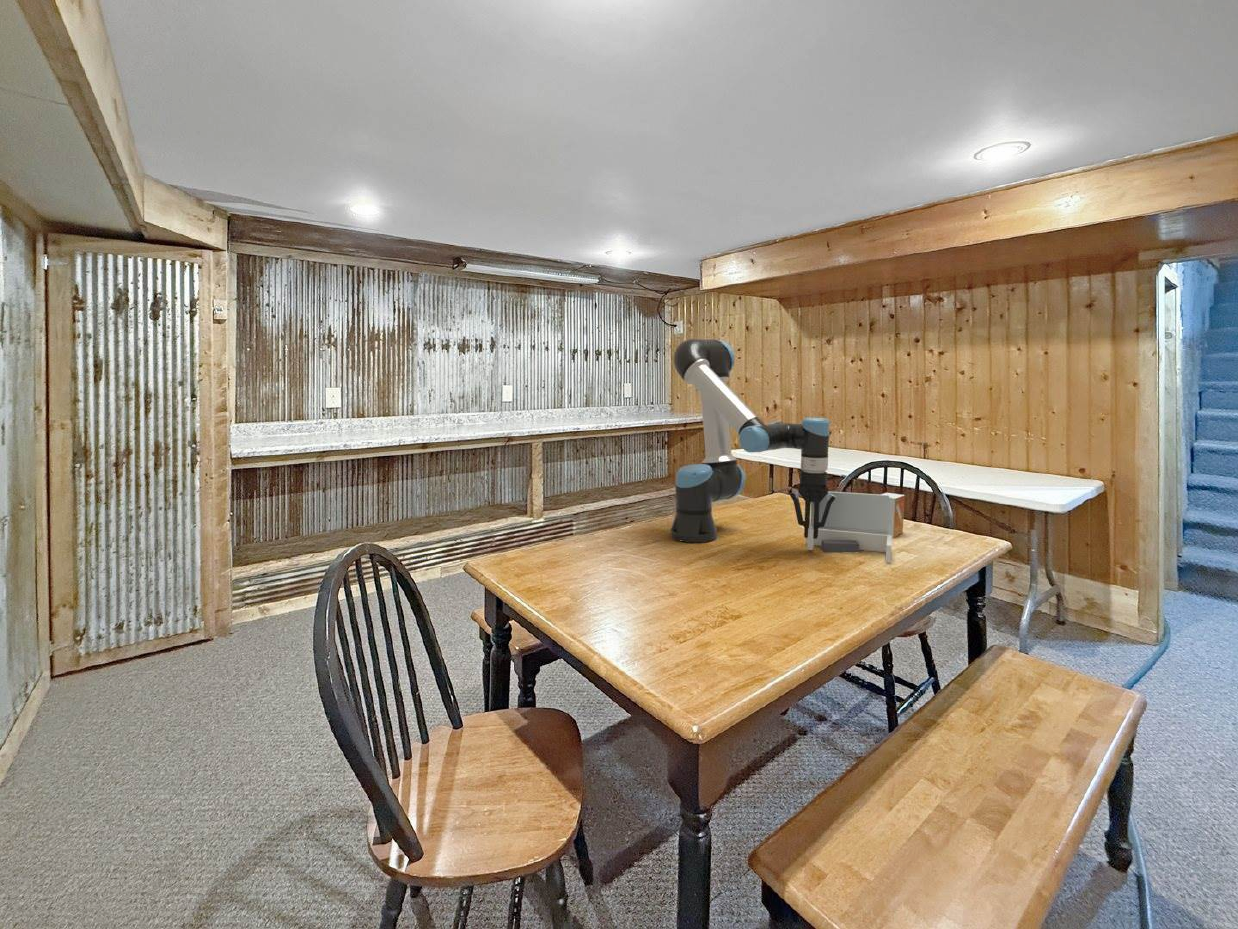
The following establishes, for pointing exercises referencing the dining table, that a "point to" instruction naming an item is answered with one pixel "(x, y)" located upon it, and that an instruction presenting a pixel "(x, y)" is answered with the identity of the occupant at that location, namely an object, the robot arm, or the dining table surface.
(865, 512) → the cover
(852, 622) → the dining table surface
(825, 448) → the robot arm
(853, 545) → the dark blue-grey block
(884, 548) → the grey bench block
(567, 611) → the dining table surface
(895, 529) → the small box
